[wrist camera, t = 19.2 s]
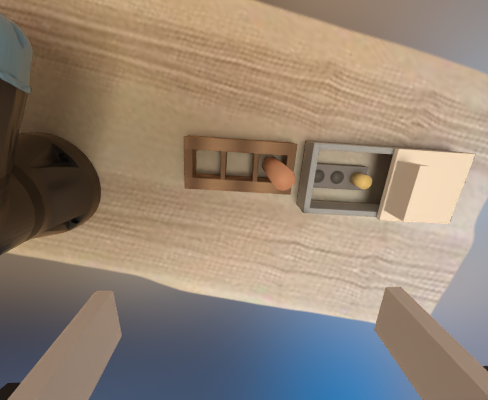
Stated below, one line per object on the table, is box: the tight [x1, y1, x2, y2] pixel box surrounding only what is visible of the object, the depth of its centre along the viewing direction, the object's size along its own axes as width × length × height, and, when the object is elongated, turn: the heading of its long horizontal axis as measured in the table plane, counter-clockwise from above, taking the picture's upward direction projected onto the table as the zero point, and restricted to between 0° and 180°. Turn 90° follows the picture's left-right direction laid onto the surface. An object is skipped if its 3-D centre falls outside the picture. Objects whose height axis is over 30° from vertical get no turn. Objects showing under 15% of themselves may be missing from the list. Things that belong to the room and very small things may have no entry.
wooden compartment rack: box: [184, 136, 297, 194], centre depth 33 cm, size 15×7×3 cm, turn 86°
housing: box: [297, 141, 476, 221], centre depth 34 cm, size 22×10×4 cm, turn 86°
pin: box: [262, 156, 295, 191], centre depth 30 cm, size 3×3×10 cm
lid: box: [376, 149, 475, 224], centre depth 30 cm, size 10×10×5 cm
